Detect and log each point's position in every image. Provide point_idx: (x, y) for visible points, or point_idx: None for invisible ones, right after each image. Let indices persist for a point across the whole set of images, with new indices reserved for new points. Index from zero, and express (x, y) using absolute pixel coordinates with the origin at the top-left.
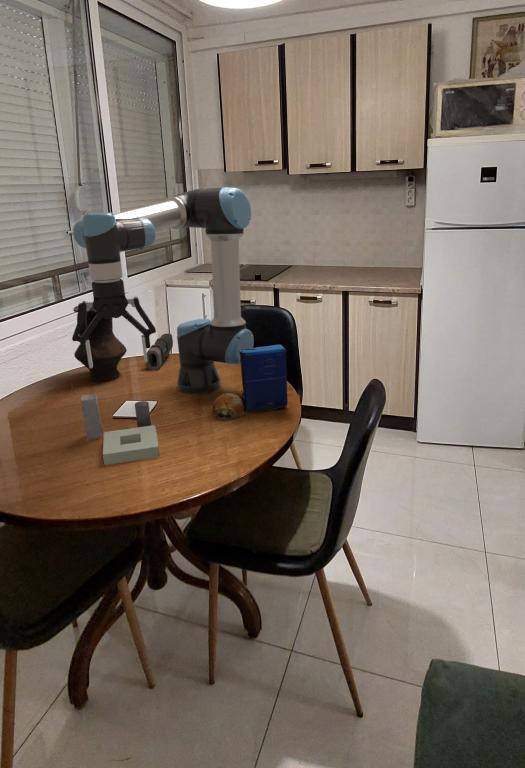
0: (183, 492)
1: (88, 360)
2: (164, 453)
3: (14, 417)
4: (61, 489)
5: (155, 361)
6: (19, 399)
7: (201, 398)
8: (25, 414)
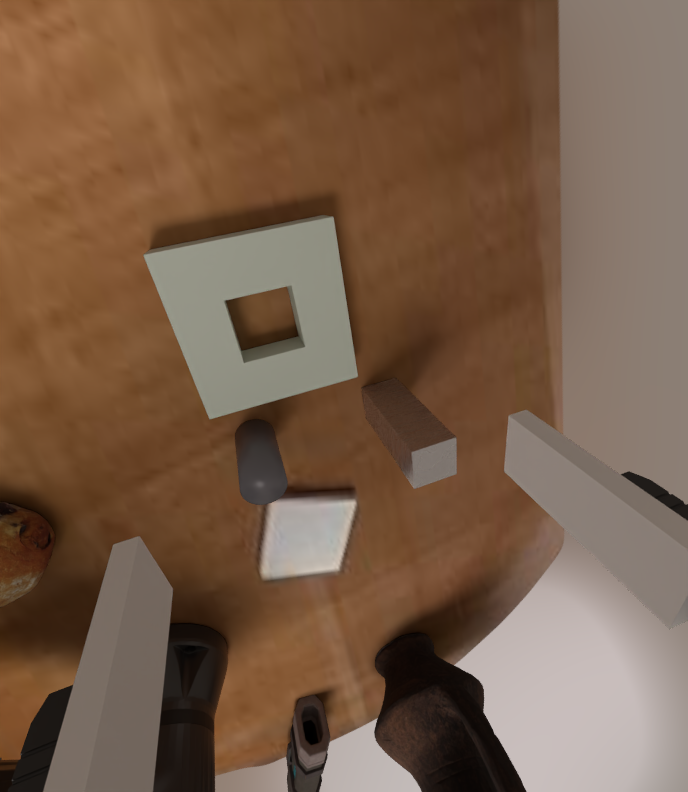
0: None
1: (568, 442)
2: (139, 274)
3: None
4: (423, 58)
5: (309, 724)
6: (544, 548)
7: None
8: None
